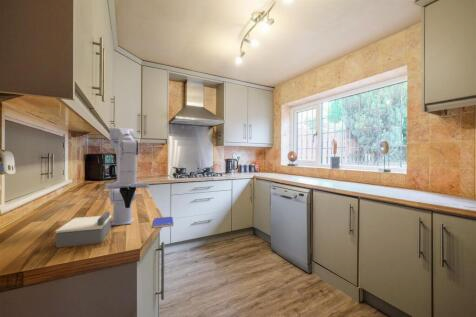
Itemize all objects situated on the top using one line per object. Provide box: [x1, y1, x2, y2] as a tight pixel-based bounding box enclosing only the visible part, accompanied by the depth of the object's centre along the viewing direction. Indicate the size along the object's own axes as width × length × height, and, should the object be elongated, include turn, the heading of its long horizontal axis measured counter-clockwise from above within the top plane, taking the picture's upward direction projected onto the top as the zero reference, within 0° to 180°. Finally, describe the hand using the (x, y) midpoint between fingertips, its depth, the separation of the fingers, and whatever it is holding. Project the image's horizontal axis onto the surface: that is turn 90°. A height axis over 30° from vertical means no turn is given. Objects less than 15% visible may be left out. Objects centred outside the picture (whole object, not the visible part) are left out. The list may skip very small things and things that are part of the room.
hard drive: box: [152, 216, 174, 229], centre depth 95 cm, size 2×8×12 cm
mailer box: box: [55, 217, 112, 249], centre depth 76 cm, size 16×12×4 cm
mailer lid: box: [54, 211, 113, 234], centre depth 76 cm, size 16×12×3 cm
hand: (127, 207), depth 81 cm, fingers closed
